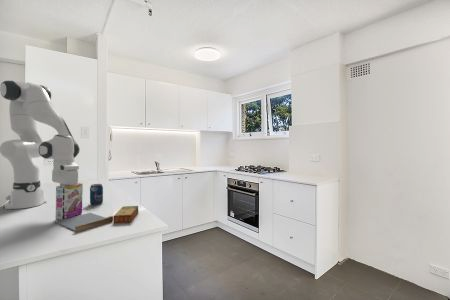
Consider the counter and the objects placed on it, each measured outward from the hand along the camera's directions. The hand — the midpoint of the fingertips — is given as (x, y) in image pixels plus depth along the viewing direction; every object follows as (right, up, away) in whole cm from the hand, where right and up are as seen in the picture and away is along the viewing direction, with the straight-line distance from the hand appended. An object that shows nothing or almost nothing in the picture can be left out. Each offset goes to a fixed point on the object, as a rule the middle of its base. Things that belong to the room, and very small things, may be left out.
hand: (64, 192), depth 114 cm
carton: (+34, -13, -2) cm, 36 cm away
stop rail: (+25, -13, -15) cm, 31 cm away
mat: (+16, -12, -9) cm, 22 cm away
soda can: (+4, -12, +21) cm, 24 cm away
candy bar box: (+4, -12, -2) cm, 13 cm away
